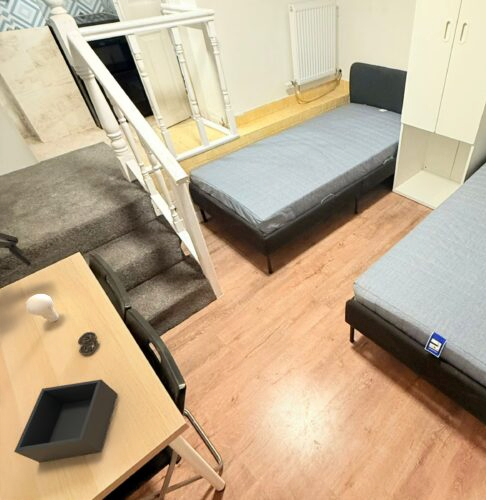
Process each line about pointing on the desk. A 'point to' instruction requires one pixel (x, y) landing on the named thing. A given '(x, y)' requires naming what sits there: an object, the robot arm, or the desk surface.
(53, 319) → the lightbulb
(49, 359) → the desk surface
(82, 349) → the corroded twin loop
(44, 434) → the bin
